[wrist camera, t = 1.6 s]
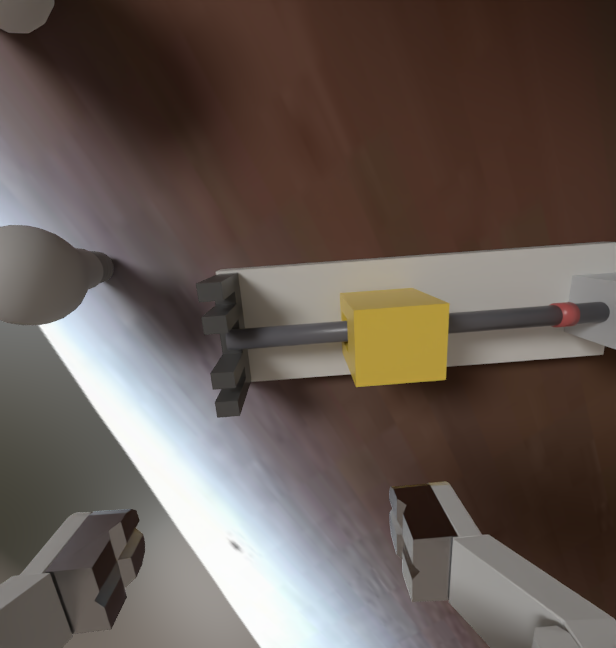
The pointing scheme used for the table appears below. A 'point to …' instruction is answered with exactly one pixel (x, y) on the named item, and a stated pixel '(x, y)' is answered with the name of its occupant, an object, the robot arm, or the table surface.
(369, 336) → the sleeve
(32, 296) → the lightbulb
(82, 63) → the table surface
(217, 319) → the board
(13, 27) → the foam cup
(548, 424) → the table surface
